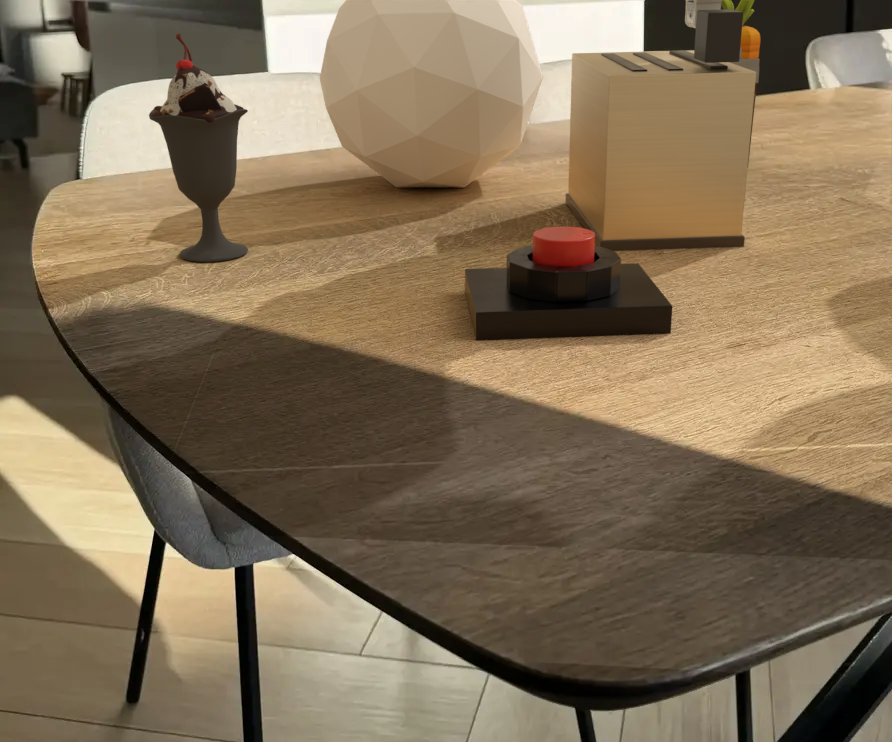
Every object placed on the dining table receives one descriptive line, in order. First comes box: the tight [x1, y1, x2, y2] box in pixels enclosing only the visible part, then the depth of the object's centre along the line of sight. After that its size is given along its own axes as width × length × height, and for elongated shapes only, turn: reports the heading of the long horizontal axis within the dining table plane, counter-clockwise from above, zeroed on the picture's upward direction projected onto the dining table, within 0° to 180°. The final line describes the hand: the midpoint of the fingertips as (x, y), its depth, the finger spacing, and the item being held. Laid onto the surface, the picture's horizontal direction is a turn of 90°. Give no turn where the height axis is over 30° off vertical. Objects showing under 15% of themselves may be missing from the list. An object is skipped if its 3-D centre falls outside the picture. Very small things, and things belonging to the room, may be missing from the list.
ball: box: [319, 0, 544, 189], centre depth 99 cm, size 19×20×20 cm
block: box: [464, 244, 673, 342], centre depth 66 cm, size 11×9×4 cm
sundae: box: [148, 32, 249, 263], centre depth 78 cm, size 7×7×15 cm
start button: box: [532, 226, 595, 266], centre depth 65 cm, size 4×4×2 cm
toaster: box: [564, 49, 756, 252], centre depth 85 cm, size 10×16×12 cm, turn 3°
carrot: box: [721, 0, 761, 59], centre depth 121 cm, size 5×5×15 cm
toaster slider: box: [694, 9, 743, 63], centre depth 77 cm, size 2×3×3 cm
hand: (701, 28), depth 81 cm, fingers closed
